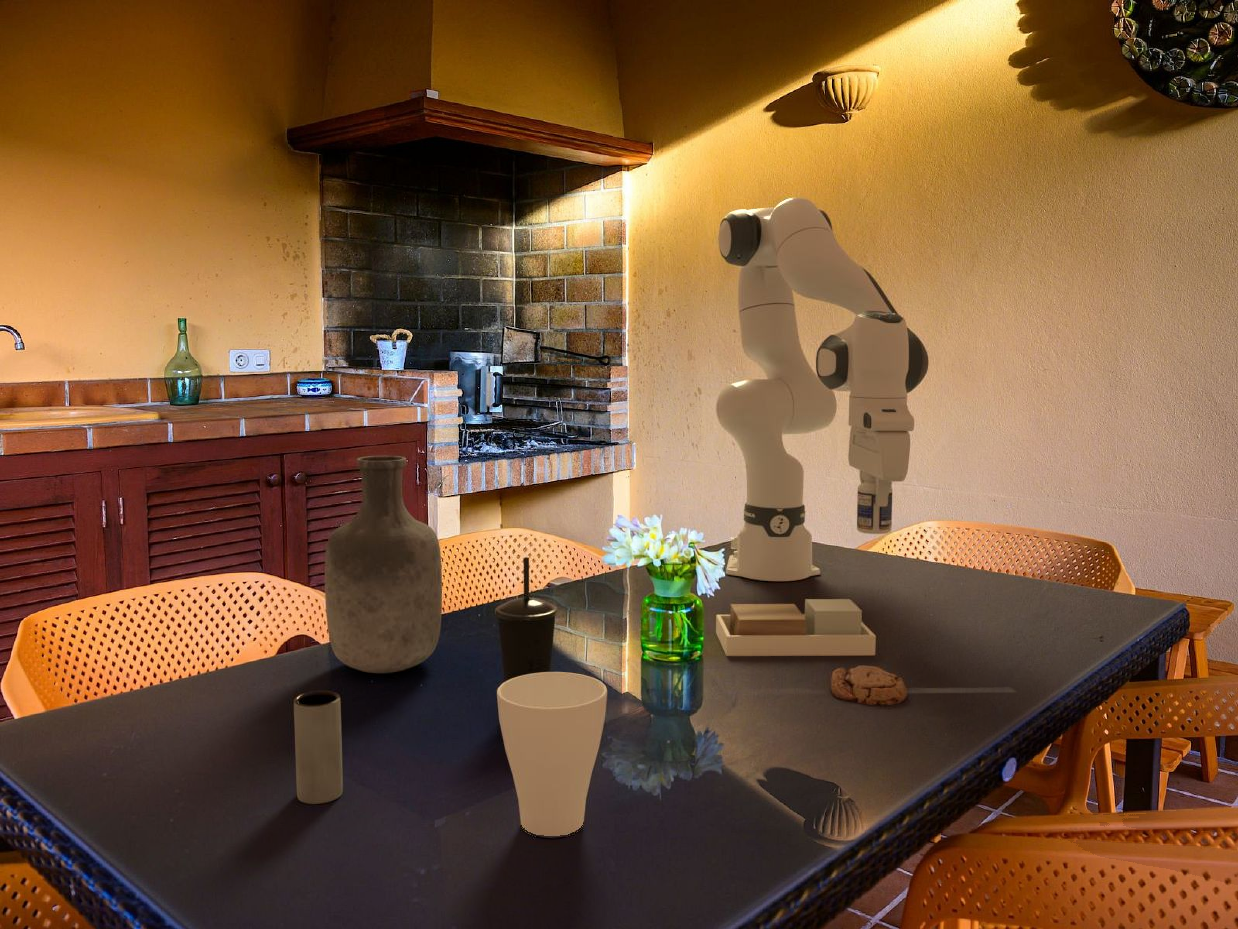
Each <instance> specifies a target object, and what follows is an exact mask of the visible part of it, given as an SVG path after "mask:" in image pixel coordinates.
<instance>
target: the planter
mask: <svg viewBox="0 0 1238 929" xmlns="http://www.w3.org/2000/svg"><path fill="white" fill-rule="evenodd" d="M341 708H342V707H341V696H340V694H339V693H337V692H334V691H330V690H316V691H314V690H313V691H309V692H306V693H302V694H298V695H297V696H296V697H295V698H294V700H293V718H294V719H293V720H294V721H293V722H294V748H295V749H294V750H295V774H296V776H295V778H296V779H295V780H296V794H297V795H296V797H297V799H298V801H300V802H302V803H304V804H307V805H308V804H310V805H319V804H326V803H329V802H332V801H334V800H337V799H339V798H340V797H341V796H342V794H343V792H344V790H343V786H344V784H343V779H344V778H343V748H342V746H343V745H342V744H343V743H342V741H343V740H342V712H341V711H342V709H341Z"/></svg>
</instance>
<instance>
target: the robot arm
mask: <svg viewBox="0 0 1238 929" xmlns="http://www.w3.org/2000/svg"><path fill="white" fill-rule="evenodd" d="M833 231H834V230H833V225H832V222H831V219H830V217H829V215H828V214H827V212H826V211H824V210H822V209H819V208H818V206H816V204H815V203H814V202H813V201H811V199H807V198H805V197H799V196H797V197H796V196H795V197H791V198H787V199H785V200H782V201H781V202H780V203H778V204H777V205H776V206H774V207H762V208H754V209H748V210H747V209H745V208H743V209H737V210H734V211H733V210H732V211H730V212H729V213H727V214H726V215H725V216H724V217H723V218H722V220H721V222H720V225H719V229H718V239H717V240H718V247H719V251H720V255H721V256H722V258H723V260H724V261H725V262H726V263H727V264H729V265H731V266H732V265H733V266H737V267H740V268H739V272H738V283H737V284H738V285H737V305H738V306H737V307H738V316H739V317H738V318H739V326H740V328H739V329H740V338H741V347H742V350H743V353H744V354H745V355H746V356H747V357H748V359H750V360H752V361H753V362H754V363H756V364H757V365H758V366H760V368H761V369H762V370H763V371H764V374H766V375H765V376H766V377H767V378H766V379H765V378H763V379H761V378H759V379H758V378H757V379H755V378H754V379H751V378H750V379H744V380H740V381H735V382H733V383H728V384H727V385H725V386H724V387H723V388H722V389H721V391H720V393H719V394H718V396H717V400H716V405H715V406H716V407H715V408H716V409H715V410H716V411H715V413H716V417H717V419H718V422H719V424H720V426H721V427H722V428H723V429H724V430H725V431H726V432H728V434H730V435H731V437H732V438H733V439H734V440H735V441H736V443H737V445H738V446H739V448H740V450H741V453H742V456H743V458H744V463H745V470H746V502H745V503H744V509H743V521H744V523H743V525H742V527H741V529H739V532H738V533H737V536H733V537H731V538H730V548H731V549H732V550H735V551H733V554H730V555H729V558H728V562H727V565H726V570H725V575H730V576H738V577H743V578H746V579H750V580H758V581H766V582H767V581H768V582H791V581H792V582H793V581H799V580H804V579H807V578H809V577H812V576H817V575H820V574H821V570H820V568H818V567H816V566H815V565H813V538H812V535H813V534H812V532H810V531H809V530H808V529H807V528H806V527H805V524H804V523H805V521H806V519H805V518H806V506H805V504H803V503H804V480H805V478H804V476H805V475H804V467H803V465H802V463H801V462H800V461H799V460H798V459H797V458H796V457H794V456H792V455H791V454H789V453H788V452H787V451H786V448H785V446H784V443H783V435H799V434H800V435H803V434H804V435H805V434H809V433H812V432H813V433H814V432H816V431H820V430H823V429H825V428H828V427H829V426H830V425H831V424H832V423H833V421H834V419H835V417H836V415H837V414H836V413H837V406H838V404H837V398H836V395H835V392H834V391H837V392H849V398H848V399H849V400H848V401H849V402H848V426H850V427H851V428H850V431H849V443H848V453H847V454H848V455H847V457H848V458H847V459H848V465H849V466H850V467H851V468H854V469H856V470H858V471H859V482H860V484H862V483H864V480H863V479H862V475H863V471H865V472H866V473H867V474H869V475H871V476H873V477H875V478H876V484H877V487H876V494H874V504H875V505H877V506H878V507H885V506H887V505H888V495H889V492H890V489H891V487H893V486H892V484H893V482H896V483H897V482H904V481H905V479H906V478H907V475H908V471H909V464H910V453H911V452H910V451H911V435H910V432H913V431H914V429H915V418H914V416H913V415H912V413H911V412H910V410H909V406H908V394H909V393H910V392H912V391H913V390H915V388H917V387H918V386H919V385H920V384H921V382H923V380H924V378H925V376H926V375H927V373H928V371H929V355H928V351H927V349H926V346H925V345H924V343H923V342H922V340H921V339H920V338H919V337H918V336H917V335H916V333H914V332H913V331H912V330H911V329H910V328H909V327H908V326H907V322H906V319H905V318H904V317H903V316H901V315H900V314H899V313H898V312H897V310H896V308H894V306H893V305H892V303H891V301H890V299H889V298H888V297H887V295H886V294H885V292H884V290H882V287H881V286H880V285H879V283H878V282H877V281H876V279H875V278H874V277H873V276H872V274H871V273H870V272H869V271H867V270H866V269H865V268H864V267H862V266H861V265H860V264H858V262H856V261H855V260H853V258H852V257H850V255H849V254H848V253H847V252H846V251H845V250H844V249H843V247H842V246H841V245H840V243H839V242H838V240H837V238H836V236H835V233H834V232H833ZM794 293H796V294H798V295H799V296H802V297H805V298H807V299H811V300H815V301H819V302H820V301H821V302H824V303H829V304H831V305H832V304H833V305H836V306H838V307H841V308H844V309H846V310H848V311H850V312H851V313H852V314H854V315H855V317H854V319H853V322H852V324H851V325H849V326H848V327H847V328H845V329H844V330H842V331H839V332H837V333H834V334H830V335H828V336H827V337H826V338H825V339H824V340H823V342H821V343H820V345H819V347H818V349H817V351H816V357H815V371H816V372H815V371H814V370H813V368H812V366H811V365H810V364H809V362H808V359H807V357H806V356H805V354H804V353H805V352H804V350H803V348H802V345H801V342H800V336H799V330H798V321H797V316H796V308H795V306H796V305H795V298H794Z"/></svg>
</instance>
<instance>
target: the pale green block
mask: <svg viewBox="0 0 1238 929" xmlns="http://www.w3.org/2000/svg"><path fill="white" fill-rule="evenodd" d="M804 614H805V618H806V619H807V620H806V635H861V622H863V621H862V620H863V619H862V617H863V616H862V614H863V610H861V609H860V608H859V607H858V605H857V604H856V603H855V602H853V601H852V599H849V598H836V599H835V598H834V599H833V598H831V599H830V598H829V599H827V598H825V599H824V598H821V599H820V598H815V599H813V598H809V599H808V598H805V599H804Z"/></svg>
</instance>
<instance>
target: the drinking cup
mask: <svg viewBox="0 0 1238 929" xmlns="http://www.w3.org/2000/svg"><path fill="white" fill-rule="evenodd" d="M558 610H559V609H558V607H557V606H556V605H555V604H553V603H550V602H547V601H545V600H544V599H541V598H535V597H530V557H526V556H525V557H523V597H518V598H515V599H512V600H509V601H507V602H505V603H502V604H500V605H498V606H497V607H496V608H495V611H494V612H495V615H496V616H497V623H498V632H499V642H500V649H501V650H500V651H501V660H502V662H501V664H502V670H503V672H502V673H503V680H504V682H506V681H508V680H509V679H512V678H515V677H518V676H522V675H527V674H533V673H542V672H551V670H552V669H551V668H552V659H553V658H552V656H553V647H554V636H555V635H554V634H555V624H556V623H555V622H556V616H557V614H558ZM504 682H503V683H504Z"/></svg>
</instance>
